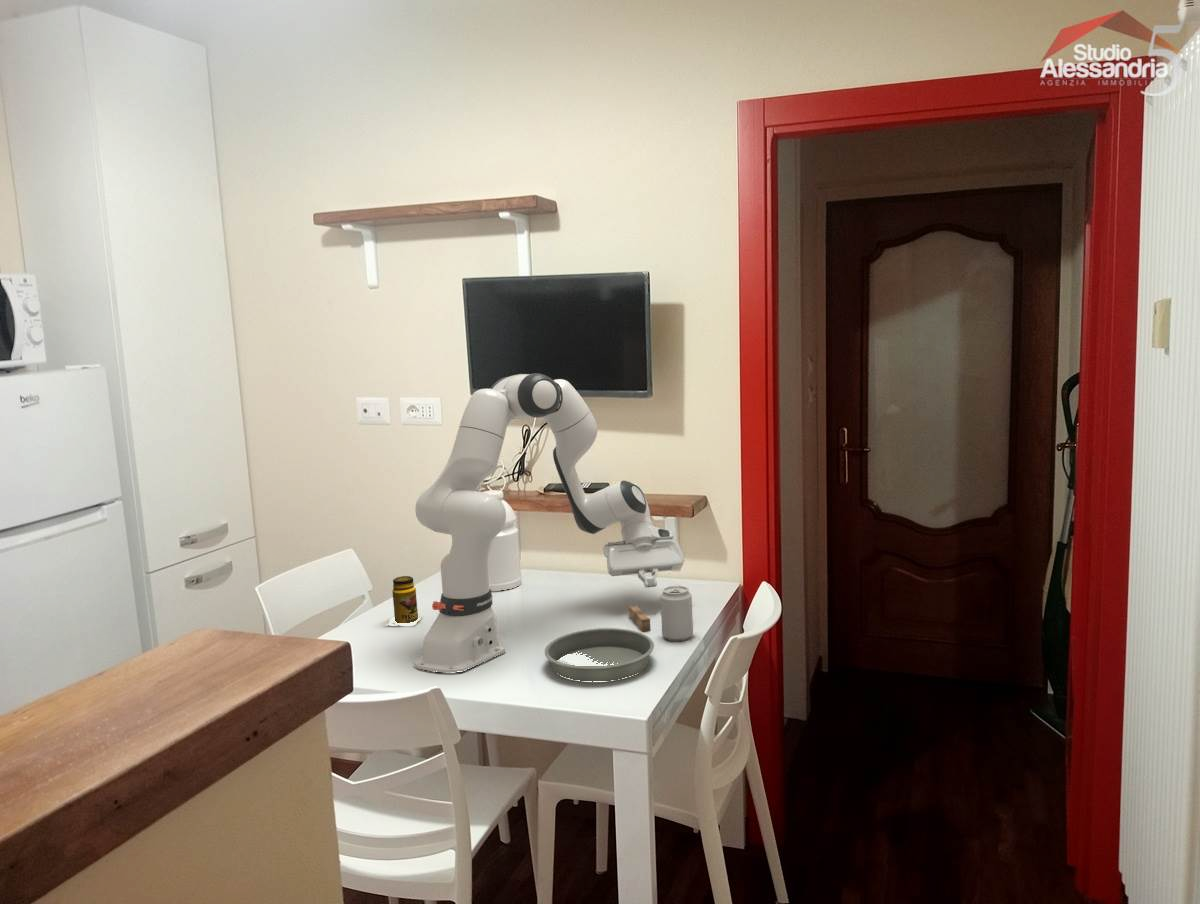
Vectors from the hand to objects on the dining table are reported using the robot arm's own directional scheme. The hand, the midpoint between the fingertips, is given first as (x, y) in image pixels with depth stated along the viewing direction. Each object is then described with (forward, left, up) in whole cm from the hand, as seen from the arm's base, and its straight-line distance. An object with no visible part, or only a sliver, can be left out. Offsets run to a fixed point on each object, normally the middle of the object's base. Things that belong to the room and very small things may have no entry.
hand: (651, 586), depth 243 cm
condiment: (-24, +61, -8) cm, 66 cm away
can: (-13, -12, -8) cm, 20 cm away
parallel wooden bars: (-4, -4, -8) cm, 9 cm away
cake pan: (-35, -2, -8) cm, 36 cm away
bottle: (+12, +54, -8) cm, 56 cm away
